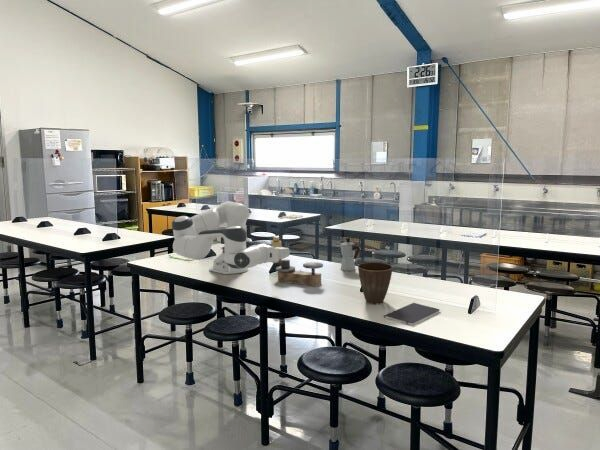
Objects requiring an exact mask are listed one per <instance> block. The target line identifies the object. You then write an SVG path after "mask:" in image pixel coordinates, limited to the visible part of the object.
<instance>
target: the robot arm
mask: <svg viewBox="0 0 600 450" xmlns="http://www.w3.org/2000/svg"><path fill="white" fill-rule="evenodd" d="M249 217H250V209H249V208H248V207H247V206H246V205H245V204H244V203H241V202H236V201H229V200H228V201H224V202H222V203H220V204H218V205H217V206H215V207H214V208H210V209H209V210H205V211H204V212H203V211H202V212H201V213H198V214H196V215H193V216H191V217H190V216H187V215H181V216H177V217H176V218H174V219H173V220H172V222H171V229H172V232H173V233H172V234H173V237H174V240H173V243H172V249H173V251H174V253H175V254H176V255H179V256H180V257H183V258H187V259H191V260H202V259H204V258H206V257H207V255H209V253H210V251H211V250H212V249H211V248H212V245H213V243H214V239H216V238H223V240H224V245H223V246H222V247H221V248H220V250H222V252H221V253H220V254H218V256H216V257H215V258H214V259H213V263H212V266H210V267H209V268H208V270H209V272H215V273H218V274H223V275H229V274H240V273H241V274H242V273H246V272H248V271H249V269H250V268H254V267H257V265H261V264H266V263H272V262H278V261H279V260H280V259H282V260H285V259H286V258H288V257H290V255H291V254H290V253H291V251H290V248H289V247H284V246H282V247H273V246H271V245H269V244H266V243H258V244H252V245H250V246H248V247H247V234H248V233H247V230H246V229H245V228H246V225H247V224H246V223H247V220H248V219H250V218H249ZM225 224H226V227H222V228H220V227H221V226H223V225H225Z"/></svg>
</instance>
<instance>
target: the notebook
mask: <svg viewBox="0 0 600 450" xmlns="http://www.w3.org/2000/svg"><path fill="white" fill-rule="evenodd" d="M438 313H440V309H439V308H436V307H431V306H429V305H425V304H421V303H420V304H419V303H416V302H412V303H410V304H407V305H405V306H403V307H400V308H398V309H396V310H393V311H391V312H389V313H386V314H384V316H383V317H384V318H385V319H389V320H391V321H392V320H393V321H396V322H398V323H401V324H405V325H410V326H414V325H416V324H419V323H420V322H422V321H424V320H426V319H428V318H431V317H432V316H435V315H437V314H438Z"/></svg>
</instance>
